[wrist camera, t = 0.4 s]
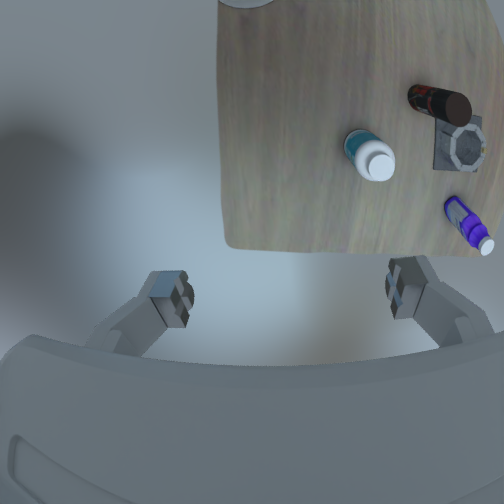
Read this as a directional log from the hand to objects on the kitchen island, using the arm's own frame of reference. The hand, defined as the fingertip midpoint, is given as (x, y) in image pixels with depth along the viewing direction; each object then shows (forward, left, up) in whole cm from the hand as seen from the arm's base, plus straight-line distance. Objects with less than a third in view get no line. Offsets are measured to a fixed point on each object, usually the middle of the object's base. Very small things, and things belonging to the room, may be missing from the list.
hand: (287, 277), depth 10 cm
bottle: (+23, +41, -46) cm, 66 cm away
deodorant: (-3, +29, -46) cm, 54 cm away
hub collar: (+6, +40, -46) cm, 61 cm away
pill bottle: (+8, +15, -46) cm, 49 cm away
